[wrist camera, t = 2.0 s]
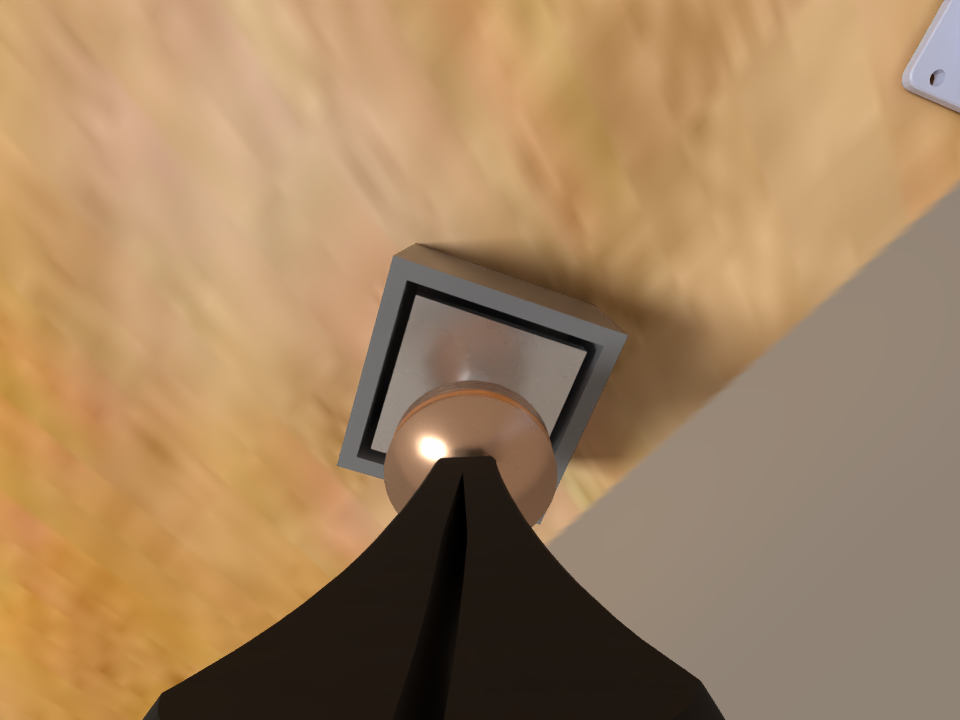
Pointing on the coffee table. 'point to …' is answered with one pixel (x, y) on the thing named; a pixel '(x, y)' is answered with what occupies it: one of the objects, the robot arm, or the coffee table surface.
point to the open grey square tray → (493, 298)
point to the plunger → (475, 401)
